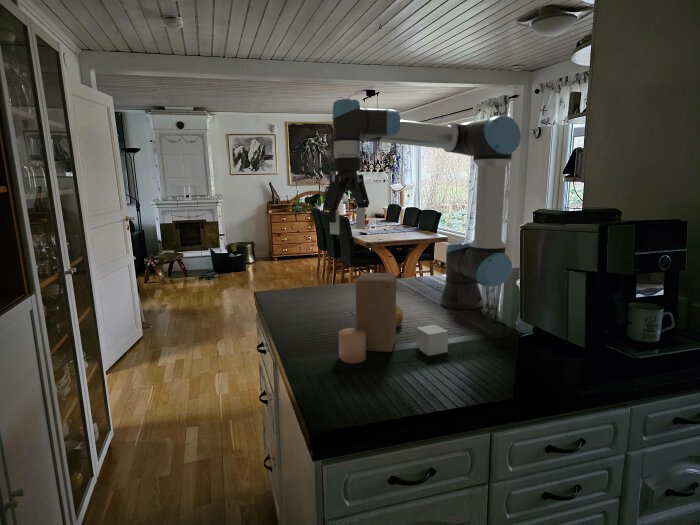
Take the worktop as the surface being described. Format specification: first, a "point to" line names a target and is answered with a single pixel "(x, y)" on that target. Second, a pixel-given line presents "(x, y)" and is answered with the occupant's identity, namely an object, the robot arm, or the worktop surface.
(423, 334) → the grey plastic cube
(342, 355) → the peach round cylinder
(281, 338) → the worktop surface
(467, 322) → the worktop surface
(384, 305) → the wooden block
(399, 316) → the bread roll
